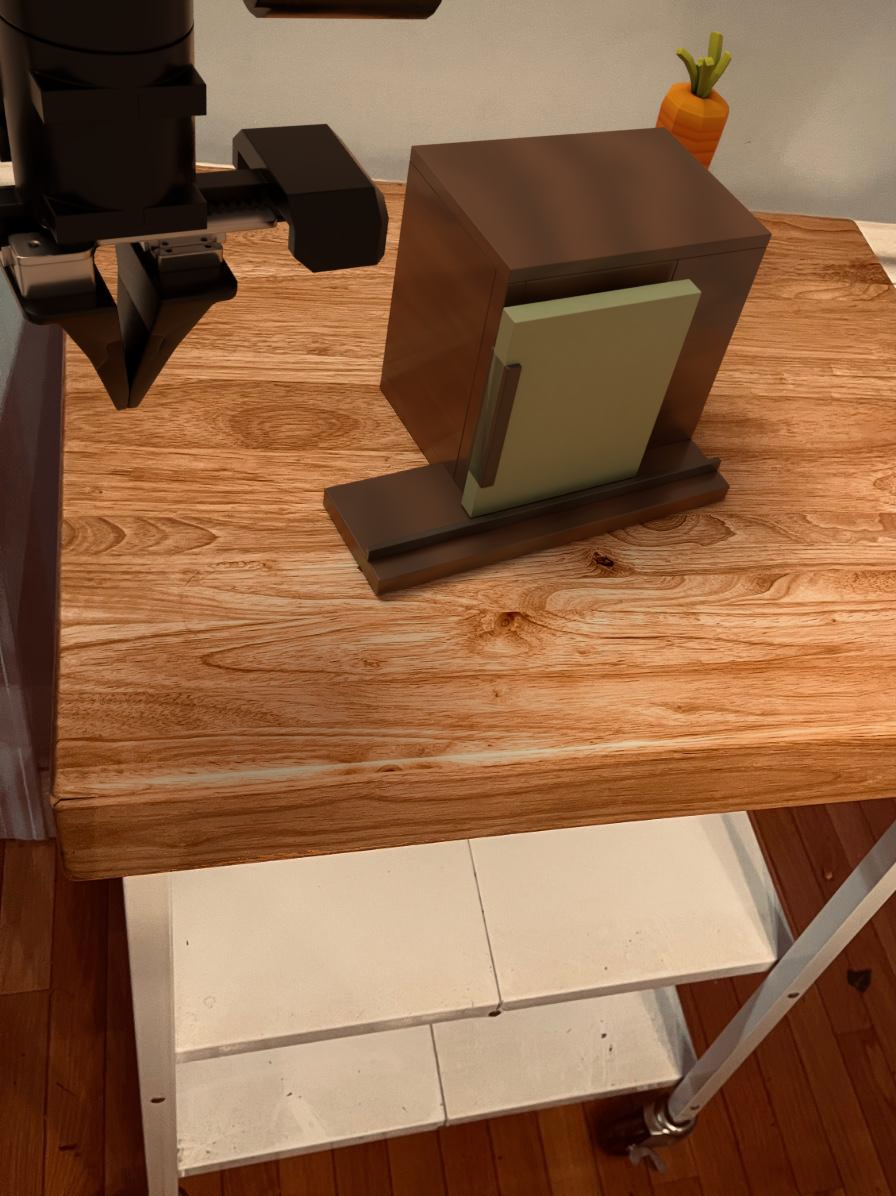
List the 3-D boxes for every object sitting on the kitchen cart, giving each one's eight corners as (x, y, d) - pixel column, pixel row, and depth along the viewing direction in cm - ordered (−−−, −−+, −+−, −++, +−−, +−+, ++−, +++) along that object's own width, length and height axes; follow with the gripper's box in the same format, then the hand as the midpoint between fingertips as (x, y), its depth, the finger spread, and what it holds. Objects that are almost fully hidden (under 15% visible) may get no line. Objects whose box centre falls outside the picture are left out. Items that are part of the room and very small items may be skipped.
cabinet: (376, 596, 61) (414, 350, 49) (266, 408, 68) (277, 154, 56) (724, 499, 72) (821, 281, 61) (599, 347, 79) (664, 126, 68)
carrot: (663, 260, 88) (726, 64, 77) (612, 227, 90) (667, 29, 79) (700, 240, 91) (765, 49, 80) (650, 208, 93) (708, 16, 82)
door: (473, 522, 64) (518, 326, 55) (458, 499, 65) (499, 303, 55) (638, 480, 70) (705, 295, 60) (622, 459, 70) (686, 274, 61)
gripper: (288, -99, 44) (273, 257, 56) (-317, -121, 35) (-187, 311, 46) (417, 50, 39) (372, 410, 50) (-254, 70, 30) (-125, 506, 41)
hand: (123, 402), depth 47 cm, fingers closed
